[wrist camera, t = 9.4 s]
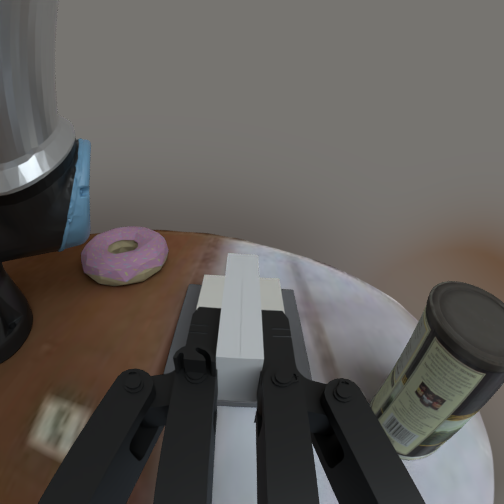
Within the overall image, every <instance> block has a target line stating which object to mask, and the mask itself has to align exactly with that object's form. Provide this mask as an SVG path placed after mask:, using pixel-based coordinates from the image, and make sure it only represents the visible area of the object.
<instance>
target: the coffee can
mask: <svg viewBox="0 0 504 504" xmlns="http://www.w3.org/2000/svg"><path fill="white" fill-rule="evenodd" d="M503 383H504V303H503V302H502V301H501V300H499V299H498V298H496V297H495V296H494V295H492V294H490V293H488V292H487V291H485V290H483V289H481V288H478V287H475V286H473V285H470V284H467V283H462V282H455V281H454V282H453V281H449V282H442V283H439V284H437V285H436V286H435V287H433V289H432V290H431V292H430V295H429V297H428V300H427V305H426V307H425V310H424V312H423V314H422V316H421V318H420V320H419V322H418V324H417V326H416V328H415V330H414V332H413V334H412V336H411V338H410V340H409V342H408V344H407V345H406V347H405V349H404V351H403V353H402V354H401V356H400V358H399V359H398V361H397V363H396V365H395V366H394V368H393V370H392V371H391V373H390V375H389V376H388V378H387V379H386V381H385V383H384V384H383V386H382V387H381V389H380V390H379V392H378V393H377V394H376V395H375V396H374V398H373V399H372V401H371V403H370V407H371V409H372V410H373V412H374V414H375V415H376V417H377V419H378V420H379V422H380V424H381V426H382V427H383V429H384V431H385V432H386V434H387V436H388V438H389V439H390V441H391V443H392V445H393V446H394V448H395V450H396V452H397V453H398V455H399V457H400V459H406V460H417V459H421V458H424V457H427V456H429V455H431V454H432V453H434V452H435V451H436V450H437V449H438V448H439V447H440V446H441V445H443V444H444V443H445V442H446V441H447V440H448V439H450V438H451V437H452V436H453V435H454V434H455V433H456V432H457V431H458V430H460V429H461V428H462V427H463V426H464V425H465V424H466V423H467V422H468V421H469V420H470V419H471V418H472V417H473V416H474V415H475V414H476V413H477V412H478V411H479V410H480V409H481V408H482V407H483V406H484V405H485V404H486V403H487V401H488V400H489V399H490V398H491V397H492V396H493V395H494V394H495V392H496V391H498V389H499V388H500V387H501V386H502V384H503Z"/></svg>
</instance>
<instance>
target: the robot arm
mask: <svg viewBox="0 0 504 504" xmlns="http://www.w3.org/2000/svg"><path fill="white" fill-rule="evenodd" d="M58 2H59V0H0V363H2V362H3V361H5V360H7V359H8V358H9V357H11V356H12V355H13V354H14V353H15V352H16V351H17V350H18V349H19V348H20V347H21V346H22V344H23V343H24V341H25V340H26V338H27V337H28V335H29V332H30V330H31V327H32V322H33V315H32V311H31V309H30V306H29V304H28V302H27V299H26V298H25V296H24V295H23V293H22V292H21V291H20V290H19V288H18V287H17V286H16V284H15V283H14V282H13V281H12V279H11V278H10V277H9V275H8V274H7V272H6V271H5V270H4V268H3V265H2V262H5V261H9V260H14V259H19V258H24V257H30V256H35V255H40V254H45V253H51V252H56V251H58V252H61V251H63V250H64V249H66V248H70V247H73V246H77V245H81V244H83V243H84V242H85V241H86V240H87V239H88V237H89V235H90V204H89V203H90V201H89V180H90V151H91V143H90V141H89V140H83V139H78V140H76V138H75V131H74V127H73V124H72V123H71V122H70V121H69V120H68V119H66V118H64V117H62V116H60V115H58V111H57V101H56V85H55V84H56V83H55V38H56V21H57V11H58ZM173 361H174V366H175V370H174V371H172V372H170V373H167V374H163V375H155V376H150V375H149V374H148V373H147V372H145V371H143V370H140V369H129V370H126V371H124V372H122V373H121V374H120V375H119V376H118V377H117V379H116V380H115V382H114V383H113V384H112V386H111V387H110V389H109V390H108V392H107V393H106V395H105V396H104V398H103V399H102V401H101V402H100V404H99V405H98V407H97V408H96V410H95V411H94V413H93V414H92V416H91V417H90V419H89V421H88V422H87V424H86V425H85V427H84V428H83V430H82V431H81V433H80V434H79V436H78V438H77V439H76V441H75V442H74V444H73V446H72V447H71V449H70V450H69V452H68V454H67V455H66V457H65V458H64V460H63V462H62V463H61V465H60V467H59V468H58V470H57V472H56V473H55V475H54V477H53V478H52V480H51V482H50V483H49V485H48V487H47V488H46V490H45V492H44V494H43V495H42V497H41V499H40V501H39V502H38V504H126V502H127V500H128V498H129V496H130V494H131V492H132V490H133V488H134V486H135V484H136V482H137V480H138V478H139V476H140V474H141V472H142V470H143V468H144V466H145V464H146V462H147V460H148V458H149V456H150V454H151V452H152V450H153V448H154V446H155V444H156V442H157V440H158V438H159V436H160V434H161V432H162V430H163V428H164V426H165V431H164V437H163V443H162V449H161V455H160V461H159V467H158V474H157V480H156V487H155V495H154V502H153V504H212V486H213V468H214V451H215V435H216V420H217V400H230V401H254V402H256V400H257V411H256V416H255V421H254V423H256V452H257V504H319V496H318V487H317V479H316V471H315V463H314V455H313V448H312V444H313V446H314V448H315V451H316V453H317V455H318V457H319V460H320V462H321V464H322V467H323V469H324V471H325V473H326V476H327V478H328V480H329V482H330V485H331V487H332V489H333V491H334V494H335V496H336V498H337V500H338V502H339V504H425V502H424V500H423V498H422V496H421V494H420V493H419V491H418V489H417V487H416V485H415V484H414V482H413V480H412V478H411V476H410V475H409V473H408V471H407V469H406V467H405V466H404V464H403V462H402V460H401V459H400V457H399V455H398V453H397V452H396V450H395V448H394V446H393V445H392V443H391V441H390V439H389V438H388V436H387V434H386V432H385V431H384V429H383V427H382V426H381V424H380V422H379V420H378V419H377V417H376V415H375V414H374V412H373V410H372V409H371V407H370V405H369V403H368V402H367V400H366V398H365V397H364V395H363V393H362V392H361V390H360V388H359V387H358V386H357V385H356V384H355V383H354V382H352V381H350V380H348V379H343V378H340V379H334V380H332V381H330V382H329V383H328V384H323V383H319V382H315V381H312V380H309V379H307V378H305V377H304V376H303V375H302V374H301V373H300V372H299V371H298V369H297V367H296V363H295V356H294V350H293V343H292V338H291V331H290V325H289V319H288V318H287V316H286V315H285V314H284V312H283V311H277V310H261V295H260V278H259V261H258V255H247V254H232V253H228V258H227V266H226V274H225V282H224V290H223V298H222V307H221V308H211V307H198V309H197V310H196V311H195V312H194V313H193V315H192V319H191V323H190V328H189V333H188V337H187V341H186V346H184V347H181V348H180V349H179V350H178V351H176V353H175V354H174V356H173Z"/></svg>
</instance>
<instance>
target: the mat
mask: <svg viewBox="0 0 504 504" xmlns="http://www.w3.org/2000/svg"><path fill="white" fill-rule="evenodd" d="M201 287H202V285H195V284H189V287H188V290H187V294H186V297H185V300H184V303H183V307H182V310H181V313H180V317H179V320H178V324H177V327H176V331H175V334H174V338H173V341H172V345H171V348H170V352H169V356H168V359H167V363H166V367H165V371H164V374H167V373H170V372H172V371H174V370H175V366H174V361H173V356H174V354H175V353H176V351H178V350H179V349H180V348H181V347H184V346H186V341H187V337H188V333H189V328H190V323H191V319H192V315H193V313H194V312H195V311H196V308H197V304H198V300H199V296H200V292H201ZM281 293H282V299H283V305H284V311H285V315H286V316H287V318H288V319H289V325H290V331H291V338H292V343H293V350H294V356H295V363H296V367H297V369H298V371H299V372H300V373H301V374H302V375H303V376H304V377H305V378H307V379H309V380H312V378H311V373H310V368H309V363H308V358H307V353H306V348H305V343H304V338H303V333H302V329H301V324H300V319H299V315H298V310H297V305H296V301H295V296H294V292H293V290H288V289H281ZM217 406H233V407H257V400H256V402H254V401H230V400H217Z"/></svg>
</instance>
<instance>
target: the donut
mask: <svg viewBox="0 0 504 504" xmlns="http://www.w3.org/2000/svg"><path fill="white" fill-rule="evenodd" d="M168 251H169V250H168V247H167V244H166V241H165V239H164V238H163V237H162V236H161V235H160V234H159V233H157V232H155V231H153V230H150V229H148V228H146V227H136V226H129V227H121V228H114V229H112V230H109V231H106V232H104V233H101V234H98V235H96V236H95V237H94V238H93V239H92V240H91V241H90V242H89V243H88V244H86V246H85V248H84V249H83V251H82V253H81V261H82V266H83V270H84V273H86V274H87V275H88V276H89V277H91V278H92V279H93V280H95V281H96V282H98V283H99V284H105V285H111V286H119V285H125V284H132V283H138V282H143V281H145V280H146V279H148V278H149V277H150V276H152V275H153V274H155V273H156V272H158V271H159V270H161V268H162V266H163V265H164V263H165V261H166V260H167V255H168Z"/></svg>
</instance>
